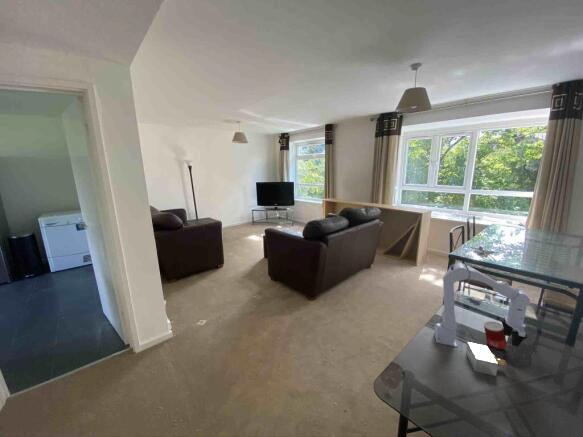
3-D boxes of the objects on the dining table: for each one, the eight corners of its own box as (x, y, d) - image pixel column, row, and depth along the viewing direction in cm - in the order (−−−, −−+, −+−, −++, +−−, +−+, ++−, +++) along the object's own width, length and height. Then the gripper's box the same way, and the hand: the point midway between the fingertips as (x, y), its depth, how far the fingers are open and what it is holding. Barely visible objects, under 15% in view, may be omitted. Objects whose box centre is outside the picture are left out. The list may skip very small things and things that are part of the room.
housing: (474, 370, 108) (476, 358, 107) (465, 353, 119) (467, 341, 118) (495, 376, 105) (498, 363, 104) (485, 357, 116) (487, 345, 115)
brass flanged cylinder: (479, 366, 110) (481, 356, 109) (475, 358, 115) (477, 348, 114) (506, 373, 107) (508, 362, 106) (500, 364, 112) (502, 353, 111)
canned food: (510, 348, 120) (507, 329, 118) (493, 350, 121) (489, 331, 120) (500, 338, 127) (497, 320, 126) (483, 340, 129) (480, 322, 127)
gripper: (536, 325, 104) (530, 352, 106) (518, 308, 117) (513, 333, 120) (516, 322, 106) (510, 348, 109) (500, 306, 120) (496, 330, 122)
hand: (511, 340), depth 114 cm, fingers open, 7 cm apart
